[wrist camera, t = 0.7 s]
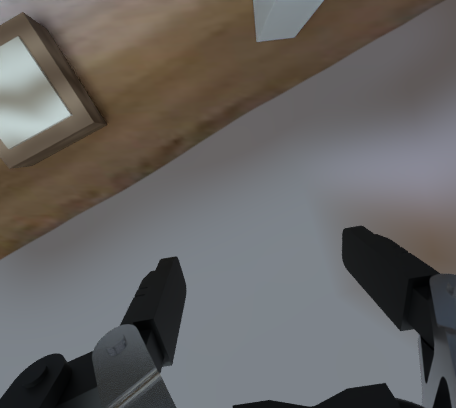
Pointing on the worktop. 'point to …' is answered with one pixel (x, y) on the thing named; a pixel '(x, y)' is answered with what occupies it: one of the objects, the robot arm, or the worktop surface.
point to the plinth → (39, 96)
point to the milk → (282, 17)
